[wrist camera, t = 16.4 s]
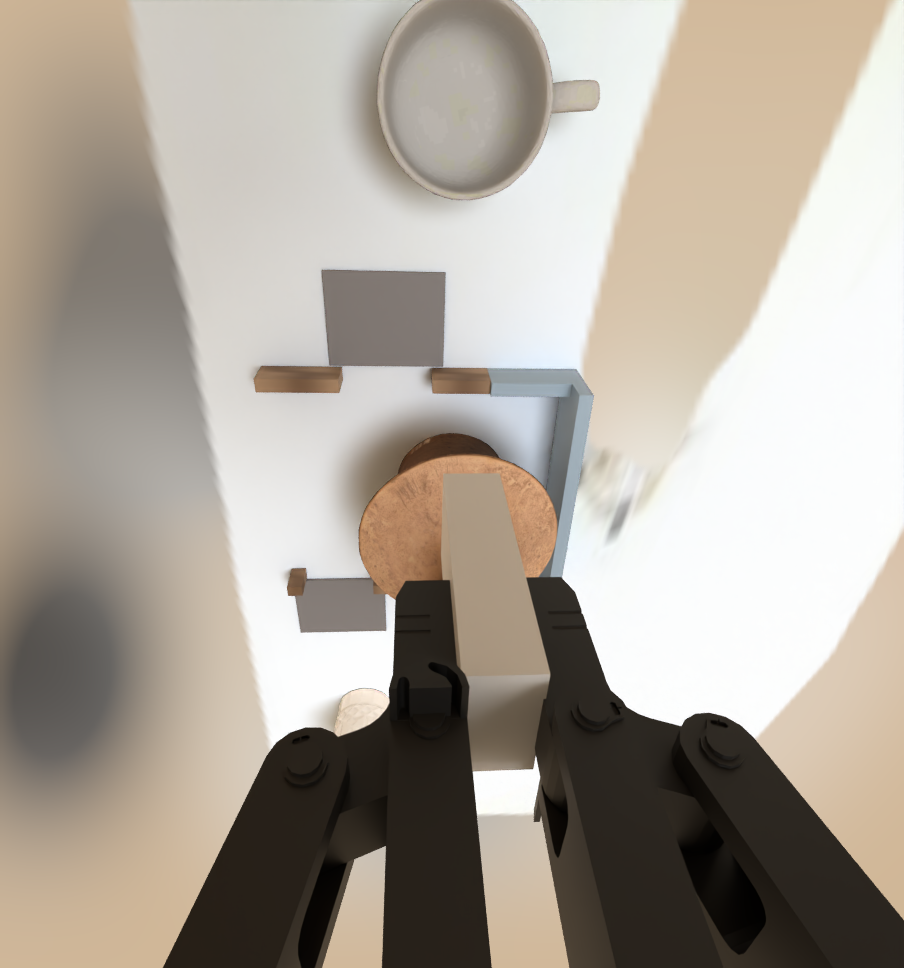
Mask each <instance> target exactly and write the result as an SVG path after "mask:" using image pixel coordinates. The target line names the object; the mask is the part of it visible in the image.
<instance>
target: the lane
mask: <svg viewBox="0 0 904 968" xmlns="http://www.w3.org/2000/svg"><path fill="white" fill-rule="evenodd" d="M342 381H343V376H342V367H298V366H261V368H260V370H259V371H258V373H257V374H256V376H255V378H254V384H255V390H256V392H291V393H339V392H340V388H341V384H342ZM490 386H491V380H490V376H489V373H488V370H487V368H432V392H433V393H441V394H490ZM306 579H307V573H306V568H305V569H292V571H291V574H290V578H289V582H288V585H287V591H288V596H303V592H304V588H305V583H306ZM373 593H374V594H387V593H385V592H384V591H383V590H382V589H381V588H380V587H379V586H378V585H377V584H376V583H375V582H374V581H373Z"/></svg>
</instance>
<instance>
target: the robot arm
mask: <svg viewBox="0 0 904 968" xmlns="http://www.w3.org/2000/svg"><path fill="white" fill-rule="evenodd" d="M441 563H442V577H443V580H419V581H405V583H404V584H403V586H402V587H401V589H400V591H399V592H398V594H397V596H396V605H395V635H394V664H393V676H392V680H391V683H390V687H389V704H388V706H387V709H386V710H385V711H384V712H383V713H382V715H381V716H380V717H379V718H378V719H376V720H375V721H374V722H372V723H371V724H370V725H367V726H365V727H363V728H361V729H359V730H356V731H353V732H350V733H347V734H344V735H341V736H339V737H338V736H337V735H336V734H335V733H333V732H331V731H328V730H326V729H323V728H303V729H300V730H297V731H294V732H291V733H289V734H288V735H286V736H285V737H284V738H282V739H281V740H279V741H278V742H277V743H276V744H275V745H274V747H273V748H272V749H271V751H270V752H269V753H268V755H267V756H266V758H265V760H264V762H263V764H262V766H261V768H260V771H259V773H258V775H257V777H256V779H255V781H254V783H253V785H252V787H251V789H250V791H249V793H248V795H247V797H246V799H245V801H244V803H243V805H242V807H241V809H240V811H239V813H238V816H237V818H236V820H235V822H234V824H233V826H232V828H231V830H230V832H229V834H228V836H227V838H226V840H225V842H224V844H223V846H222V848H221V850H220V852H219V854H218V856H217V858H216V860H215V863H214V865H213V867H212V869H211V871H210V873H209V875H208V877H207V879H206V881H205V883H204V885H203V887H202V889H201V891H200V893H199V895H198V897H197V899H196V901H195V903H194V905H193V907H192V909H191V911H190V914H189V916H188V918H187V920H186V922H185V924H184V926H183V928H182V930H181V932H180V934H179V936H178V938H177V940H176V942H175V944H174V946H173V948H172V950H171V952H170V954H169V956H168V959H167V960H166V963H165V965H164V967H163V968H322V966H323V962H324V959H325V956H326V953H327V949H328V945H329V942H330V939H331V936H332V932H333V929H334V926H335V922H336V919H337V915H338V912H339V909H340V905H341V902H342V899H343V896H344V892H345V889H346V885H347V882H348V879H349V876H350V872H351V869H352V866H353V862H354V859H356V858H358V857H361V856H363V855H365V854H368V853H370V852H372V851H375V850H377V849H379V848H382V847H384V846H386V863H385V864H386V865H385V893H384V925H383V955H382V968H492V967H491V956H490V946H489V937H488V926H487V915H486V906H485V895H484V884H483V874H482V864H481V854H480V843H479V833H478V824H477V813H476V802H475V792H474V782H473V771H495V770H521V769H533V767H534V761H535V756H536V757H537V762H538V767H539V772H540V782H539V787H538V792H537V797H536V802H535V807H534V822H539V821H540V818H541V817H542V821H543V827H544V832H545V838H546V843H547V849H548V854H549V860H550V865H551V871H552V876H553V881H554V887H555V892H556V898H557V903H558V908H559V913H560V919H561V924H562V930H563V935H564V940H565V946H566V951H567V957H568V962H569V968H904V920H903V919H902V917H901V916H900V915H899V914H898V913H897V911H896V910H895V909H894V908H893V907H892V905H891V904H890V903H889V902H888V900H887V899H886V898H885V897H884V896H883V895H882V893H881V892H880V891H879V890H878V888H877V887H876V886H875V885H874V883H873V882H872V881H871V880H870V878H869V877H868V876H867V875H866V874H865V873H864V871H863V870H862V869H861V868H860V866H859V865H858V864H857V863H856V862H855V860H854V859H853V858H852V857H851V855H850V854H849V853H848V852H847V851H846V849H845V848H844V847H843V846H842V845H841V843H840V842H839V841H838V840H837V838H836V837H835V836H834V835H833V834H832V833H831V831H830V830H829V829H828V828H827V827H826V825H825V824H824V823H823V821H822V820H821V819H820V818H819V817H818V815H817V814H816V813H815V812H814V810H813V809H812V808H811V807H810V806H809V805H808V803H807V802H806V801H805V800H804V798H803V797H802V796H801V795H800V793H799V792H798V791H797V790H796V789H795V787H794V786H793V785H792V784H791V783H790V781H789V780H788V779H787V778H786V776H785V775H784V774H783V773H782V772H781V771H780V769H779V768H778V767H777V766H776V764H775V763H774V762H773V761H772V760H771V758H770V757H769V756H768V755H767V754H766V752H765V751H764V750H763V749H762V747H761V746H760V745H759V744H758V743H757V741H756V740H755V739H754V738H753V737H752V736H751V735H750V734H749V733H748V732H747V731H746V730H745V729H744V728H743V727H742V726H741V725H739V724H737V723H735V722H734V721H732V720H730V719H728V718H726V717H724V716H720V715H716V714H712V713H701V714H694V715H693V716H691V717H689V718H687V719H686V720H685V721H684V723H683V725H682V727H681V726H678V725H674V724H670V723H666V722H662V721H658V720H655V719H651V718H648V717H645V716H642V715H639V714H637V713H636V712H634V711H632V710H630V709H629V708H627V707H626V706H625V704H624V702H623V701H622V700H621V699H620V698H619V697H618V696H616V695H615V694H614V693H613V692H612V691H611V690H610V688H609V686H608V684H607V682H606V679H605V676H604V673H603V671H602V668H601V665H600V662H599V659H598V656H597V653H596V651H595V648H594V645H593V642H592V639H591V636H590V633H589V631H588V629H587V627H586V626H587V625H586V622H585V619H584V616H583V614H582V613H581V608H580V605H579V602H578V599H577V596H576V594H575V592H574V591H573V590H572V589H571V587H570V586H569V585H568V584H567V583H566V582H565V581H564V580H563V579H562V578H561V577H526V575H525V572H524V568H523V564H522V560H521V556H520V552H519V548H518V544H517V540H516V536H515V532H514V528H513V524H512V520H511V516H510V512H509V508H508V504H507V501H506V497H505V493H504V489H503V485H502V481H501V477H500V473H472V474H443V500H442V535H441Z"/></svg>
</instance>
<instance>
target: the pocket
mask: <svg viewBox="0 0 904 968" xmlns="http://www.w3.org/2000/svg"><path fill="white" fill-rule="evenodd" d="M487 370H488V373H489V376H490V380H491V386H490V395H491V396H510V397H559V404H558V411H557V418H556V425H555V432H554V439H553V446H552V453H551V460H550V467H549V474H548V481H547V488H546V491H547V493H548V495H549V496H550V498H551V500H552V503H553V505H554V509H555V512H556V516H557V537H556V543H555V547H554V550H553V553H552V556H551V558H550V560H549V562H548V563H547V565H546V567H545V569H544V570H543V571H542V573H541V574H540V576H539V577H561V578H562V574H563V569H564V563H565V557H566V552H567V546H568V540H569V534H570V529H571V523H572V517H573V512H574V506H575V500H576V495H577V489H578V483H579V478H580V472H581V466H582V461H583V455H584V449H585V444H586V438H587V432H588V427H589V421H590V415H591V410H592V403H593V398H594V395H593V393H592V392H591V390H590V389H589V388H588V386H587V385H586V383H585V382H584V380H583V379H582V377H581V376H580V374H579V373H578V371H577V370H576V369H487Z"/></svg>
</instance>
